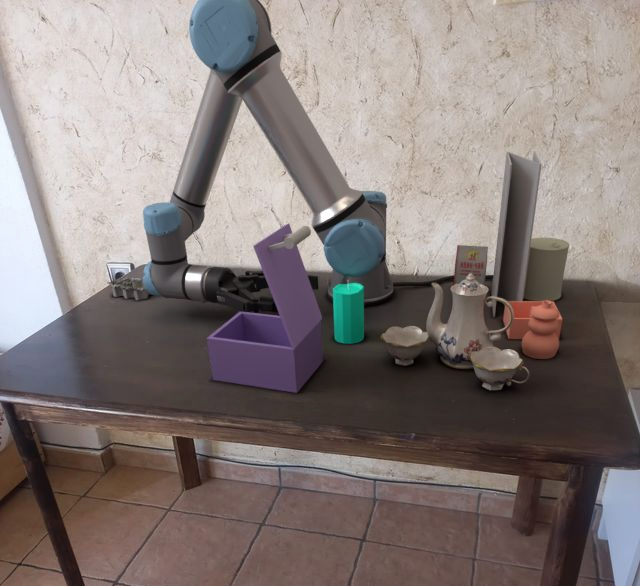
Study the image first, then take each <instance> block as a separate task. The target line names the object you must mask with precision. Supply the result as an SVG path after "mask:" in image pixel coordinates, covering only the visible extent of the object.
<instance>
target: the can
mask: <svg viewBox="0 0 640 586" xmlns="http://www.w3.org/2000/svg"><path fill="white" fill-rule="evenodd" d="M569 248H570V243H569V241H567V240H564V239H561V238H556V237H534V238H531V245H530V253H529V260H528V267H527V274H526V282H525V289H524V296H523V300H526V301H554V302H555V301H557V300H559V299H560V298H561V297H562V290H563V289H562V288H563V282H564V278H565V277H564V276H565V270H566V264H567V260H568V254H569Z"/></svg>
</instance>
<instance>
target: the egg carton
mask: <svg viewBox="0 0 640 586" xmlns="http://www.w3.org/2000/svg"><path fill="white" fill-rule="evenodd" d="M106 282H107V284H108V285H110V286H111V292H112V295H113V297H114V298H118V297H123V298H124V299H127V300H128V299H132V298H133V299H135V301H141V300H146V299H148V298H149V296H151V295H152V294H150V293H149V292H148V291H147V290H146V289H145V287H144V284H143V277H141V278H139V277H132V278H129V277H127V276H126V277H125V276H123V278H121V277H119V278H118V279H117V278H116V279H115V280H113V279H112V280H111V281H106Z"/></svg>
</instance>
